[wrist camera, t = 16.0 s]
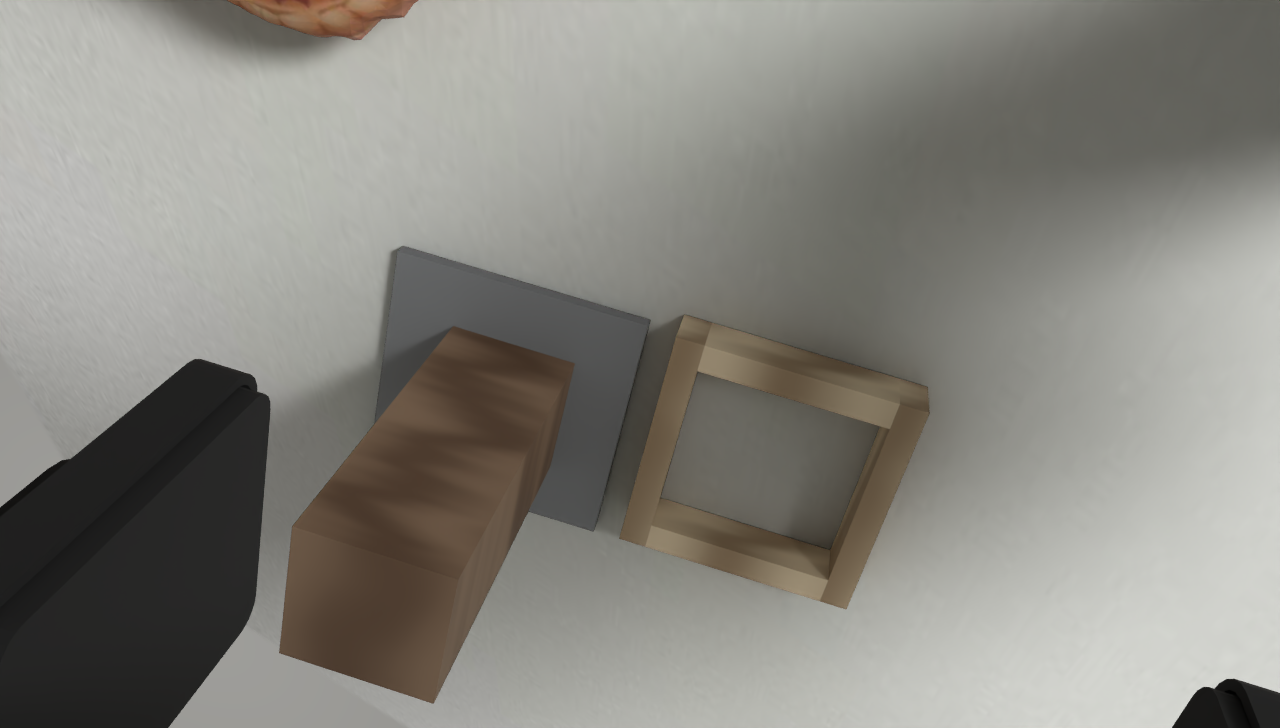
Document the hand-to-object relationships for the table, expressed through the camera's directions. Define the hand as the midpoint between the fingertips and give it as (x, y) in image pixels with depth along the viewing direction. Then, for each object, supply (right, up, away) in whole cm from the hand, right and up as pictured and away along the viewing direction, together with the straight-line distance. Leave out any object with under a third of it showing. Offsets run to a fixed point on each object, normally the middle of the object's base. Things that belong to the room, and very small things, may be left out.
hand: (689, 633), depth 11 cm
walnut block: (-7, +1, +38) cm, 39 cm away
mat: (-7, +1, +39) cm, 39 cm away
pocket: (+5, -1, +38) cm, 38 cm away
